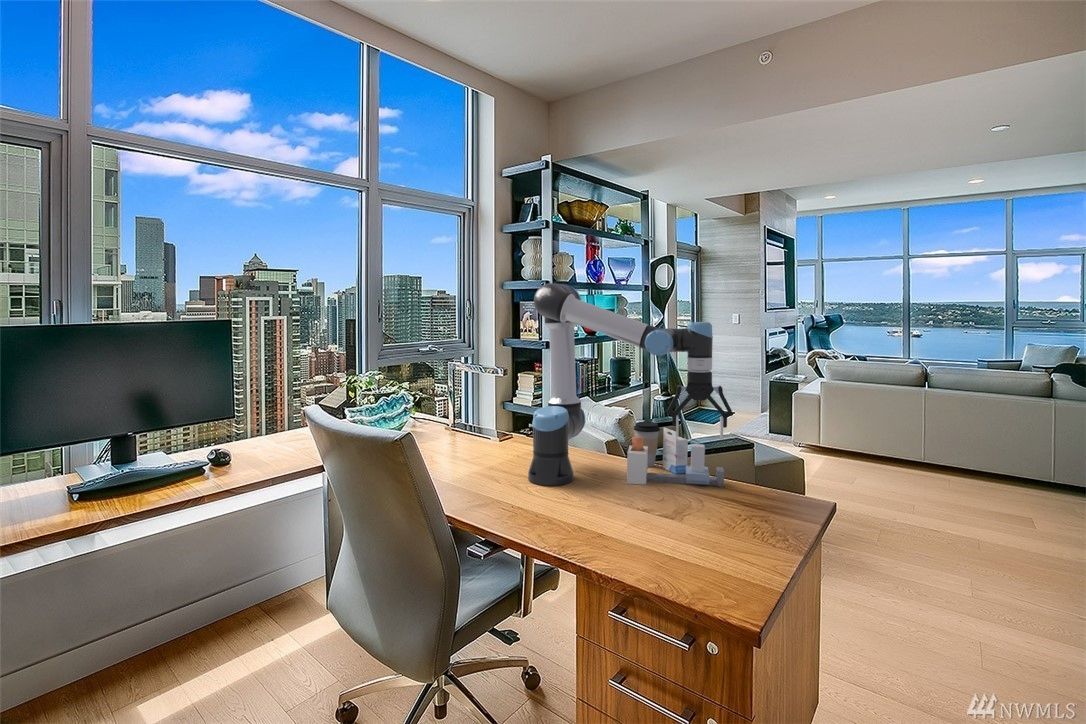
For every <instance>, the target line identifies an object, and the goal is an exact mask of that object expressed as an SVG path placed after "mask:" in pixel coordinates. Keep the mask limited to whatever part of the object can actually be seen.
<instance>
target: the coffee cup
mask: <svg viewBox="0 0 1086 724" xmlns="http://www.w3.org/2000/svg"><path fill="white" fill-rule="evenodd" d="M633 430H634V432H635V433H634V434H635V436H640V437H643V438H644V439H643V446H648V468H649V467H651V468H652V467H654V466H655V464H656V455H657V452H658V451H657V450H658V443H659V432H660V431H661V427H660V426H659V424H658V423H656V422H654V421H638V422H635V425H634V426H633Z"/></svg>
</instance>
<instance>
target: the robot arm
mask: <svg viewBox="0 0 1086 724" xmlns="http://www.w3.org/2000/svg"><path fill="white" fill-rule="evenodd" d="M533 304H534V307H535V310H536V311H537V313H538V314H540V316H542V317H544V325H545V326H546V327H547V328H548V329H549V330H548V331H549V351H550V374H551V375H550V376H551V398H550V399H548V400H547V406H545V407H544V406H543V407H540V408H538V409H536V410H535V411H534V412H533V415H532V417H533V419H532V422H531V423H532V443H533V444H532V453H533V454H532V459H531V462H530V464H529V468H528V471H527V479H528V481H529V482H530V483H532V484H535V485H540V486H549V487H550V486H552V487H553V486H554V487H555V486H562V485H566V484H570V483H572V482H573V481H574V477H575V476H574V474H575V473H574V469H573V467H572V463H571V460H570V457H569V440H571V439H573V438H575V437H576V436H578V435H579V434H580V433H581V432H582V430H583V429H584V427H585V425H586V414H585V411H584V409H583V408H582V400H581V399H580V398H579V397H578V396H577V377H576V376H577V375H576V374H577V373H576V347H575V346H576V345H575V327H576V326H579V327H583V328H586V329H587V330H591V331H594V332H597V333H599V334H601V335H605V336H606V337H607V336H608V337H610V338H613V339H615V340H618V341H621V342H624V343H626V344H629V345H632V346H634V347H637V348H639V349H641V350H645V351H647V352H648V353H649V354H651V355H653V356H657V357H660V356H661V357H662V356H665V355H667V354H668V353H669V354H670V353H687V358H686V359H687V361H686V363H687V370H688V371H687V372H686V373H687V376H686V377H687V379H686V380H687V383H686V386H682V385H681V384H679V385H677V388H676V393H675V395H674V397H673V398H672V400H671V402H670V404H669V406H668V408H667V409H666V414H667V415H670V416H671V417H672V423H671V424H672V427H675V431H676V437H680V436H679V426H680V425H679V421H680V420H679V419H680V418H679V415H678V414H679V413H680V412H682V410H683V409H684V408H685V406H687V404H688V403H689V402H691V400H694V401H706V400H708V401H709V402H710V403H711V405H712V406H713V407H714V408H715V409H716V410H717V412H718V413H719V414H720V415H721V416H720V417H719V438H720V439H721V440H722V439H723V440H724V429H725V428H727V426H728V417H732V416H734V412H733V410H732V408H731V407H730V405H729V403H728V401H727V398H726V397H725V395H724V391H723V386H722V385H718V386H713V372H712V370H713V338H714V336H713V324H712V323H711V322H708V321H694V322H693V321H691V322H688V323H687V327H686V328H661V327H660V328H659V327H656V326H653V325H650V324H648V323H644V322H642V321H639V320H637V319H634V318H630V317H628V316H625V315H622V314H620V313H617V312H614V311H611V310H609V309H606V308H604V307H603V308H602V307H600V306H597V305H594V304H592V303H589V302H586V301H584V300H582V298H581V295H580V293H579V291H578V290H576V289H575V288H574V287H573V286H570V285H568V284H566V283H565V284H564V283H555V282H554V283H553V282H549V283H545V284H542V285H541V286H540V287H539V288H537V290H536V292H535V293H534V297H533ZM684 391H686V392H687V394H688V395H687V396H686V397H685V398H684V399H683V401H682V402H680V404H679V405H678V406H677V407H676V408H675V410H674V407H675V406H676V404H677V403H678V400H679V398H680V395H681V394H683V393H684ZM713 392H715V394H718V395H719V397H720V399H721V401H722V404H723V406H724V407H725V409H726V411H727V412H726V411H724V409H723V408H722V407H721V406H720V405H719V404H718V403H717V401H716V399H714V398H713V397H712V396H711V395H712V394H713ZM673 410H674V411H673Z"/></svg>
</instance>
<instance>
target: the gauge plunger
mask: <svg viewBox="0 0 1086 724" xmlns="http://www.w3.org/2000/svg"><path fill="white" fill-rule="evenodd" d="M643 439H644V438H643V437H640V436H636V435H634V436H632V439H631V440H632V441H631V444H632V445H631V446H632V450H634V451H642V450H643Z"/></svg>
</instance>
